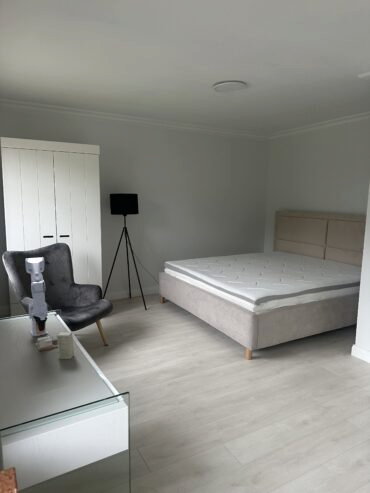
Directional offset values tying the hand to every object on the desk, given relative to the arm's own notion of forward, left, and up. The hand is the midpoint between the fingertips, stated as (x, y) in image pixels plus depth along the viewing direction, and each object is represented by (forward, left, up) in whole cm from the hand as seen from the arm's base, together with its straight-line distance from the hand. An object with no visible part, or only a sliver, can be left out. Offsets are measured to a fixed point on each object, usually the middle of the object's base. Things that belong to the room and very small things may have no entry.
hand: (40, 329), depth 179 cm
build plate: (+1, +3, -9) cm, 10 cm away
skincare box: (+20, +7, -10) cm, 23 cm away
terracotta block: (0, 0, -2) cm, 2 cm away
